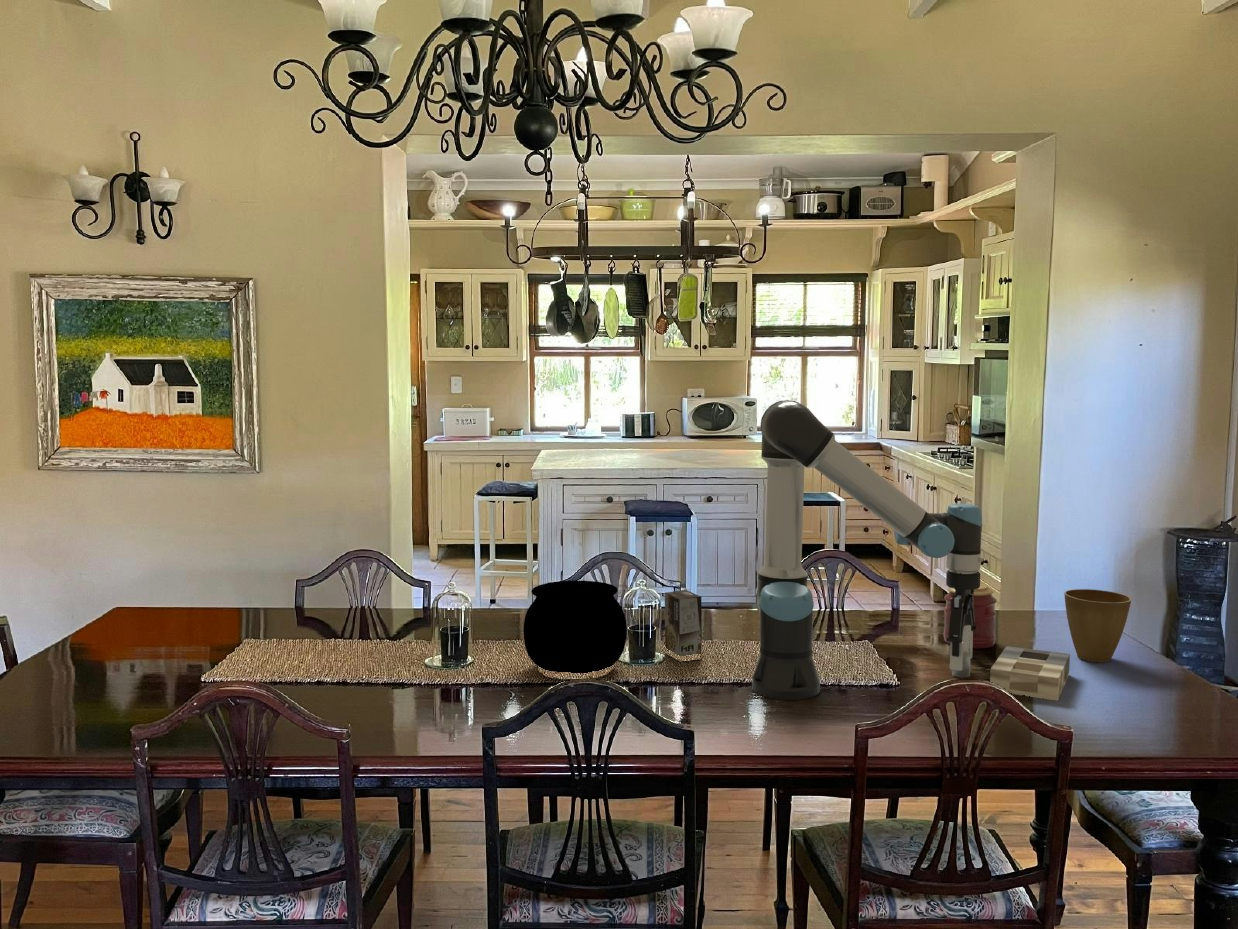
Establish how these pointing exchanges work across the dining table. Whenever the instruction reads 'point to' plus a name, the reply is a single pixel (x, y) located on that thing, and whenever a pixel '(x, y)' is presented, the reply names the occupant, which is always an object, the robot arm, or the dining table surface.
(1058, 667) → the socket block
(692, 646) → the coffee box
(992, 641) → the canister
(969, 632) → the steel pin
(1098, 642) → the plant pot
